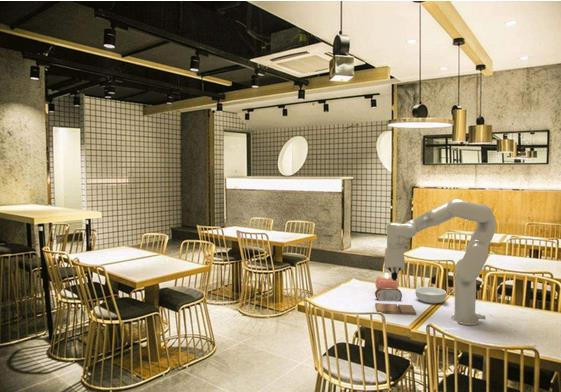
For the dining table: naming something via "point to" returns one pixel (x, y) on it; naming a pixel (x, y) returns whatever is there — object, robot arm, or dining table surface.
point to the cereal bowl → (430, 294)
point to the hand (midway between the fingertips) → (394, 280)
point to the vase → (386, 280)
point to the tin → (388, 294)
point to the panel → (387, 308)
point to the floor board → (406, 309)
